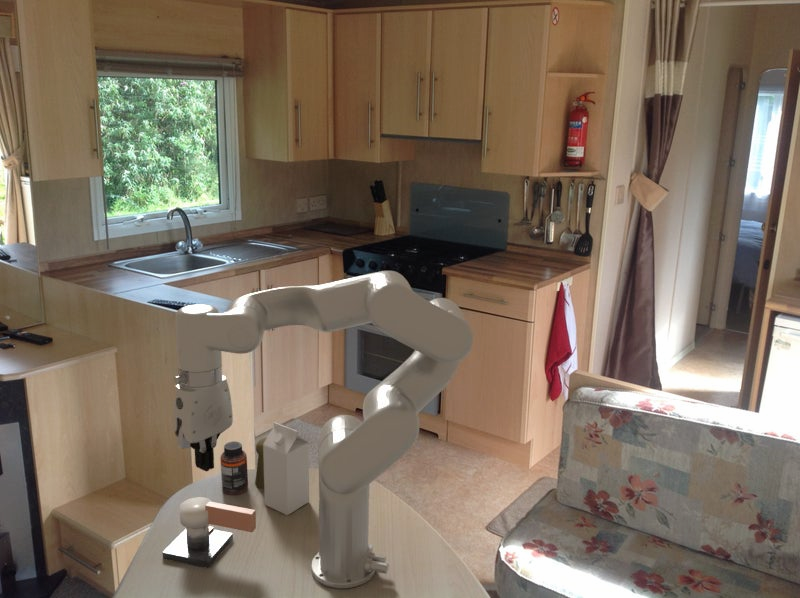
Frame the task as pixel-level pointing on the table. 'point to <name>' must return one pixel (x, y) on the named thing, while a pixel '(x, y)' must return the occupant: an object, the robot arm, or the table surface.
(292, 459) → the milk carton
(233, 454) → the supplement bottle
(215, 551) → the coupling base
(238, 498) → the table surface
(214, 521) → the orange bar with ball
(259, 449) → the olive pear
